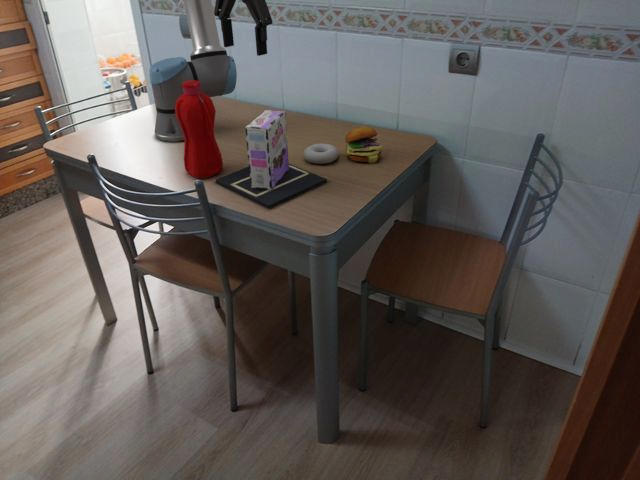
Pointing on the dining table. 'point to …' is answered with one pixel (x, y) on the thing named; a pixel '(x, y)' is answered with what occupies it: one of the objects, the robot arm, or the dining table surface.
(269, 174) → the candy box
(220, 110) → the dining table surface
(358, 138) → the cheeseburger
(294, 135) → the dining table surface
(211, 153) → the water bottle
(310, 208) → the dining table surface
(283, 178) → the placemat
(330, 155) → the donut
